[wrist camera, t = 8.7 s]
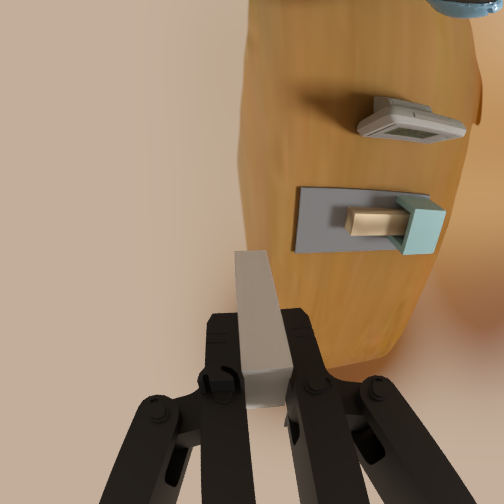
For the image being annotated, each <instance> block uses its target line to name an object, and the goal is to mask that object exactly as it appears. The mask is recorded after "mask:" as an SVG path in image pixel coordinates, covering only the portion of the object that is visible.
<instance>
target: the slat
mask: <svg viewBox="0 0 504 504" xmlns="http://www.w3.org/2000/svg"><path fill="white" fill-rule="evenodd" d="M410 214H411V213H410V212H409V211H407V210H406V209H397V208H377V207H349V206H348V210H347V216H346V222H345V227H344V228H345V229H346V230H347V231H348V233H349V234H350V235H351V236H367V235H405V233H406V229H407V226H408V222H409V218H410Z"/></svg>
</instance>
